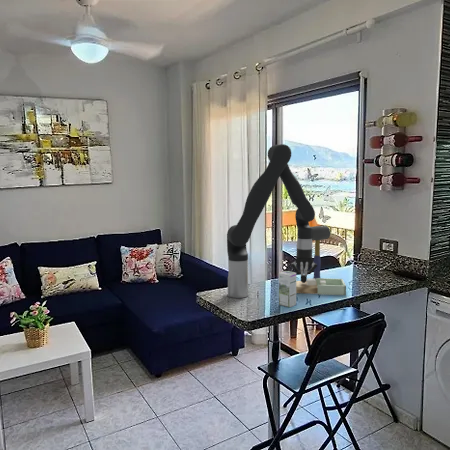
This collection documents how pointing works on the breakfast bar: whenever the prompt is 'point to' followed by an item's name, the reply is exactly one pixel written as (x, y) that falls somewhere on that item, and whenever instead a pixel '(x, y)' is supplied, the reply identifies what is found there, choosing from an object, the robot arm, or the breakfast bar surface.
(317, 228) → the rubber mallet
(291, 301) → the syrup box
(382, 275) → the breakfast bar surface
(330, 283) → the tray
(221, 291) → the breakfast bar surface
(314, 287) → the board
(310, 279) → the tile
